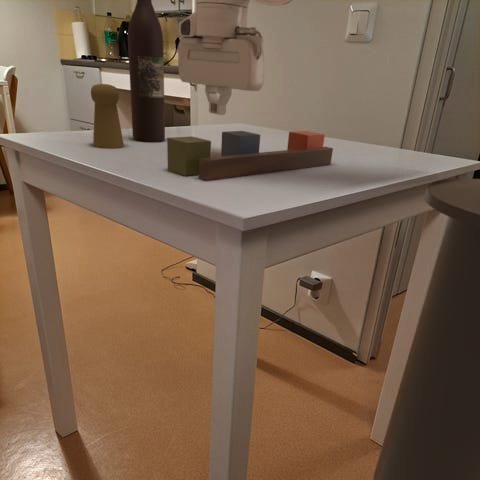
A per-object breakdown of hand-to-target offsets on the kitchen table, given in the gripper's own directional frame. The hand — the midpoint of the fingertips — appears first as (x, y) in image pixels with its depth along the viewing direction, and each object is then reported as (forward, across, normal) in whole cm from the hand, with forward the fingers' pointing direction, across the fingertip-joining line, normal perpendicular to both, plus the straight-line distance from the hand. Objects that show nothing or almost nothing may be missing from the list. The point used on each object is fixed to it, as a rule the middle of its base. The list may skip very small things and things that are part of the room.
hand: (217, 113), depth 86 cm
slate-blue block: (+8, -7, 0) cm, 10 cm away
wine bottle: (+8, +21, +2) cm, 23 cm away
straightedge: (+7, -15, 0) cm, 17 cm away
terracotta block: (+7, -10, -14) cm, 19 cm away
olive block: (+8, -10, +14) cm, 18 cm away
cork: (+8, +17, +14) cm, 23 cm away
